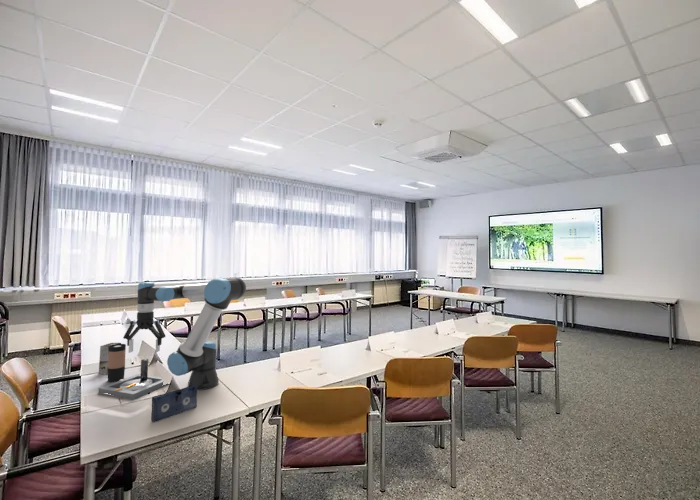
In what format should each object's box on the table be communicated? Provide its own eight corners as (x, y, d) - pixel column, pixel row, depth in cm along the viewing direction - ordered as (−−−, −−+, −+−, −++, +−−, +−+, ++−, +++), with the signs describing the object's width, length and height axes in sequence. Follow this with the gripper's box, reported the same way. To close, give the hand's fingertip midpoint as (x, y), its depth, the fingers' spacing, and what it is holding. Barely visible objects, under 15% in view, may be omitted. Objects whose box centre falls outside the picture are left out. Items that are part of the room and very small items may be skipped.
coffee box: (109, 374, 190) (110, 346, 190) (98, 374, 190) (99, 346, 190) (120, 369, 199) (121, 342, 199) (110, 368, 199) (111, 342, 199)
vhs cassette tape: (194, 406, 151) (195, 384, 151) (197, 408, 149) (198, 386, 149) (150, 420, 137) (151, 396, 137) (153, 423, 135) (154, 398, 135)
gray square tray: (170, 385, 174) (171, 377, 175) (133, 402, 153) (133, 393, 153) (138, 380, 180) (138, 372, 181) (98, 396, 159) (98, 387, 159)
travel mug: (104, 383, 176) (105, 346, 176) (119, 379, 182) (121, 343, 183) (111, 386, 172) (113, 348, 173) (127, 381, 179) (128, 344, 180)
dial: (133, 381, 174) (134, 358, 175) (158, 382, 174) (159, 359, 174) (112, 391, 160) (113, 366, 161) (139, 393, 159) (140, 368, 160)
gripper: (116, 312, 169) (115, 354, 168) (166, 312, 171) (165, 353, 170) (125, 310, 177) (124, 350, 176) (173, 310, 178) (171, 349, 177)
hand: (144, 351), depth 173 cm, fingers open, 13 cm apart
